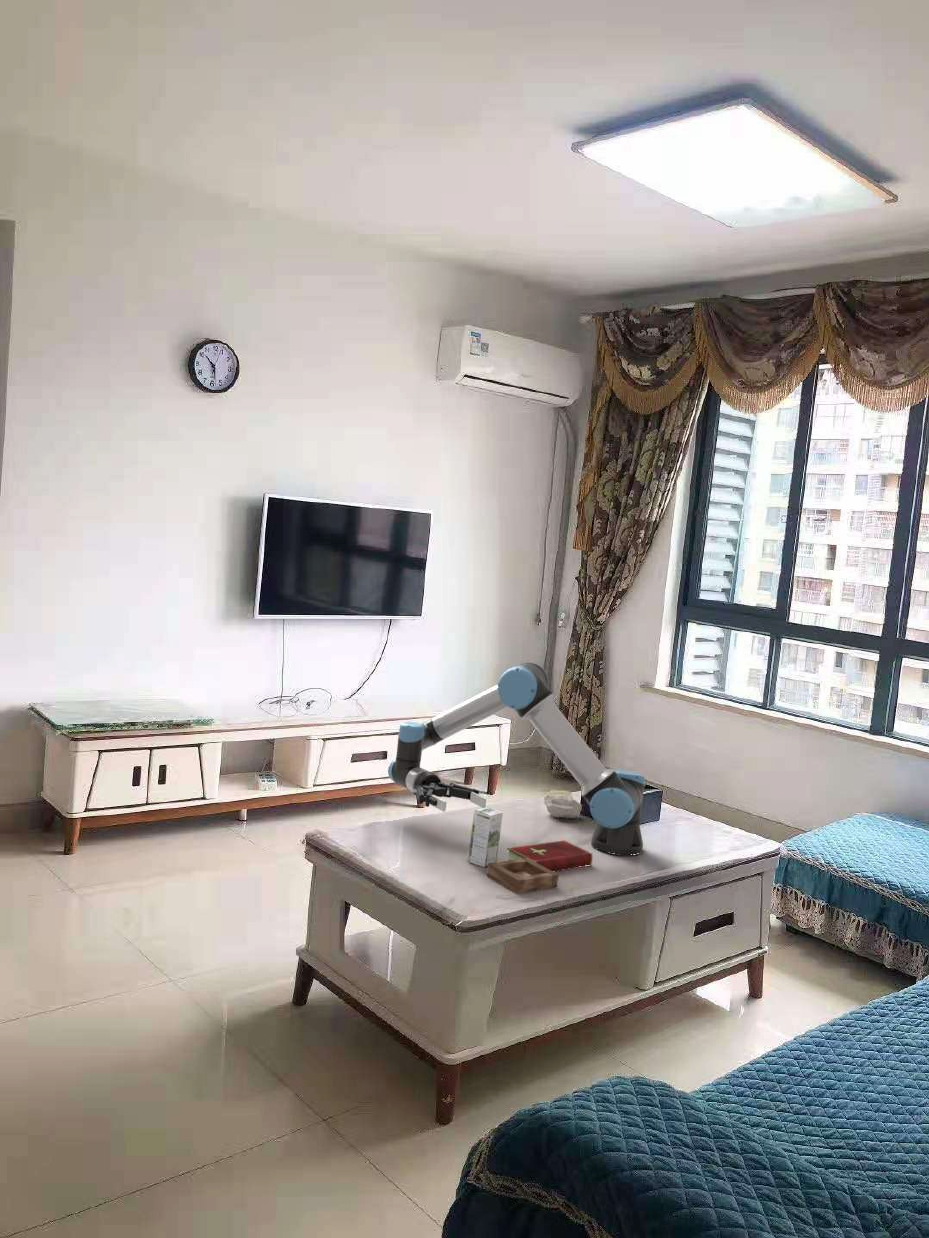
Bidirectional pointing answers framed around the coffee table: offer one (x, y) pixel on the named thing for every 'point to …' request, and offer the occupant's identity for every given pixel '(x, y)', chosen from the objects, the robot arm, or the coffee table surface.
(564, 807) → the fossil replica
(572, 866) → the hardcover book
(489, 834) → the syrup box
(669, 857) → the coffee table surface
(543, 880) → the walnut holder
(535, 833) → the coffee table surface
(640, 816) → the robot arm
